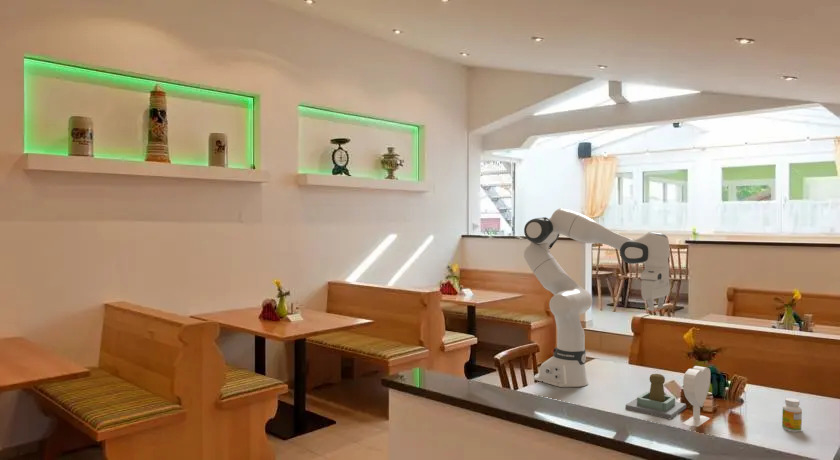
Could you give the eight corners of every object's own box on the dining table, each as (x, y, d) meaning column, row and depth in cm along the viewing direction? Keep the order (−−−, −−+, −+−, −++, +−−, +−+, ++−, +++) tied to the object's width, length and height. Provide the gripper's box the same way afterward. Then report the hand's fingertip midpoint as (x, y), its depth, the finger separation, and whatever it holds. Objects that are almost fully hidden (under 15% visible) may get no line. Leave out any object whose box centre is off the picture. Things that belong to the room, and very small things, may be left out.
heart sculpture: (697, 413, 212) (698, 363, 211) (712, 417, 208) (713, 365, 208) (680, 424, 201) (681, 371, 200) (695, 428, 197) (696, 374, 197)
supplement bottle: (778, 426, 199) (778, 397, 199) (793, 426, 200) (794, 397, 199) (789, 432, 194) (790, 402, 194) (805, 431, 194) (805, 402, 194)
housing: (625, 409, 216) (625, 398, 216) (642, 398, 228) (642, 388, 228) (670, 419, 206) (671, 407, 206) (686, 407, 218) (686, 397, 218)
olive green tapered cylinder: (666, 407, 213) (667, 377, 213) (648, 406, 215) (649, 375, 215) (664, 402, 219) (665, 373, 219) (647, 401, 221) (647, 371, 220)
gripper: (658, 271, 243) (657, 305, 243) (638, 275, 228) (637, 311, 228) (674, 272, 239) (673, 306, 239) (655, 276, 224) (654, 313, 224)
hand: (655, 309), depth 234 cm, fingers open, 8 cm apart
